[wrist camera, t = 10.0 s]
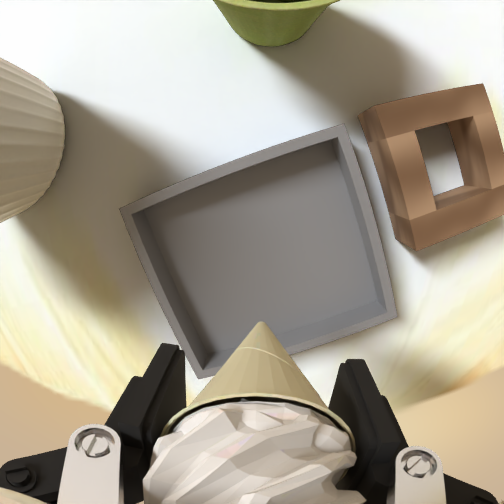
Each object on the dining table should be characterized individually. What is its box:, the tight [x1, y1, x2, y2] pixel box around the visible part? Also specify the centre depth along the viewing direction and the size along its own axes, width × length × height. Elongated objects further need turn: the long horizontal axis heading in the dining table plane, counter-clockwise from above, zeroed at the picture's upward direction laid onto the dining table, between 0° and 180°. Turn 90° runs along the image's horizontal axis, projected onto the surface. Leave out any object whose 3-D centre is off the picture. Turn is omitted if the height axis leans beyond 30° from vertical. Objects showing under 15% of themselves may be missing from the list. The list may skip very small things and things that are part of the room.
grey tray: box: [119, 124, 397, 379], centre depth 26 cm, size 16×18×4 cm
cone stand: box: [358, 84, 504, 251], centre depth 23 cm, size 11×11×4 cm
